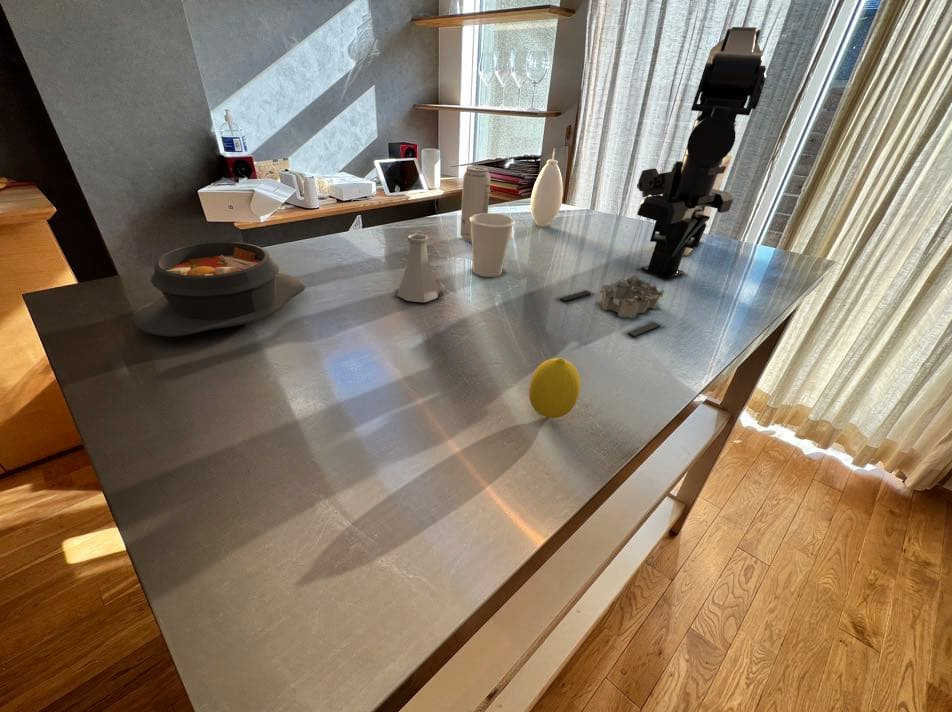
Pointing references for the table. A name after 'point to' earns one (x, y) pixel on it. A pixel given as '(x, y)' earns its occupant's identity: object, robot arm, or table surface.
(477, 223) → the dixie cup
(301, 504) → the table surface
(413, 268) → the flask
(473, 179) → the energy drink can
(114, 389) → the table surface
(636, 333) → the bay strips
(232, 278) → the casserole
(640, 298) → the tan rough lump
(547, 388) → the lemon
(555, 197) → the air blower bulb
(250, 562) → the table surface
